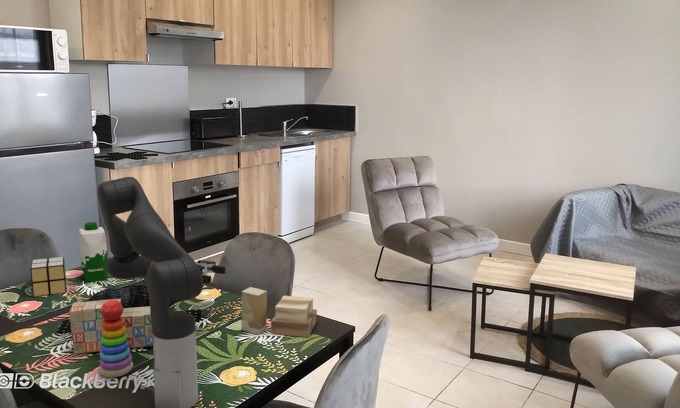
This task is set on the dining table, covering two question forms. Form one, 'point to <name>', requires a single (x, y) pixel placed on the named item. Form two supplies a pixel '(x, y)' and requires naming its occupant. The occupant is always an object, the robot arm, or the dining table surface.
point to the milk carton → (93, 252)
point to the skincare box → (254, 310)
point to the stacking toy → (114, 342)
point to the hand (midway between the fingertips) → (218, 275)
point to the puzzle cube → (48, 276)
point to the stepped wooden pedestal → (294, 317)
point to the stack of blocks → (90, 327)
